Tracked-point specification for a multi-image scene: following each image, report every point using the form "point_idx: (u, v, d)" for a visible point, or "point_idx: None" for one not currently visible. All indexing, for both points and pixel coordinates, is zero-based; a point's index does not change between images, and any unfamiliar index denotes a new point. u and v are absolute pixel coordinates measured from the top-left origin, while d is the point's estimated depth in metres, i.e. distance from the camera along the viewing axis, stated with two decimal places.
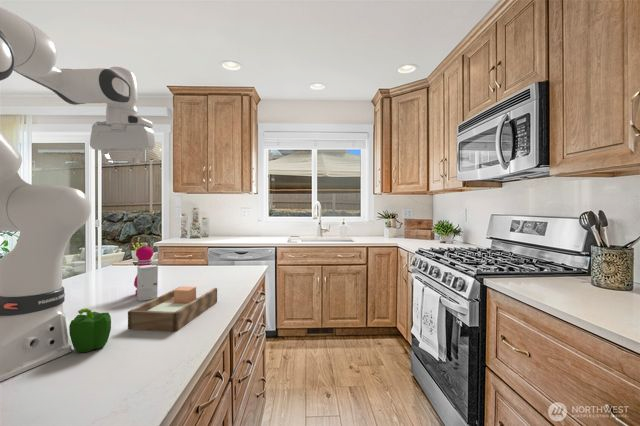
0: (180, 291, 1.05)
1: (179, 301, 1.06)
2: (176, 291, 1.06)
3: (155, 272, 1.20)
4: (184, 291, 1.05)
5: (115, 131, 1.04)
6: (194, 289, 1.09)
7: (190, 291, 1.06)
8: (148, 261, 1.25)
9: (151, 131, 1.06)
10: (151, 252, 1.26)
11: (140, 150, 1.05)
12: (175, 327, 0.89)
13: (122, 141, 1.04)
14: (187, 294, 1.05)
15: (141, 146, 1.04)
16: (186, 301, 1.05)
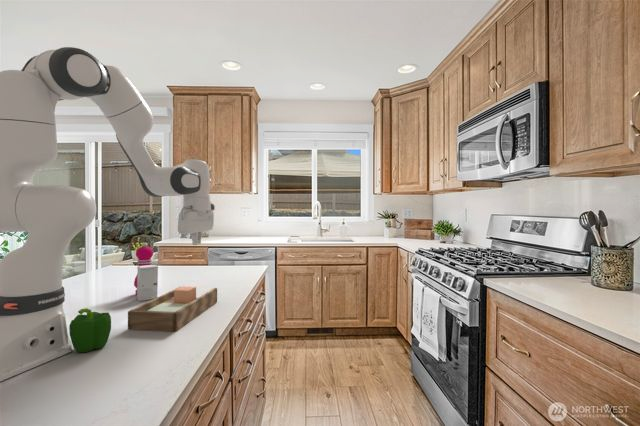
0: (180, 291, 1.05)
1: (179, 301, 1.06)
2: (176, 291, 1.06)
3: (155, 272, 1.20)
4: (184, 291, 1.05)
5: (199, 216, 1.14)
6: (194, 289, 1.09)
7: (190, 291, 1.06)
8: (148, 261, 1.25)
9: None
10: (151, 252, 1.26)
11: None
12: (175, 327, 0.89)
13: (203, 225, 1.17)
14: (187, 294, 1.05)
15: (210, 228, 1.23)
16: (186, 301, 1.05)
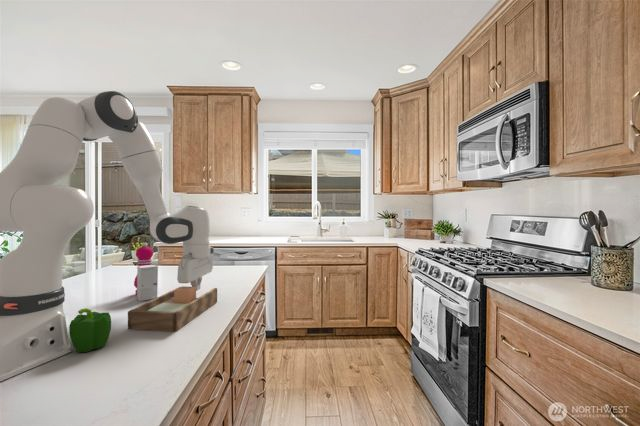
0: (180, 291, 1.05)
1: (179, 301, 1.06)
2: (176, 291, 1.06)
3: (155, 272, 1.20)
4: (184, 291, 1.05)
5: (199, 262, 1.15)
6: (194, 289, 1.09)
7: (190, 291, 1.06)
8: (148, 261, 1.25)
9: None
10: (151, 252, 1.26)
11: None
12: (175, 327, 0.89)
13: (202, 270, 1.17)
14: (187, 294, 1.05)
15: (210, 271, 1.24)
16: (186, 301, 1.05)
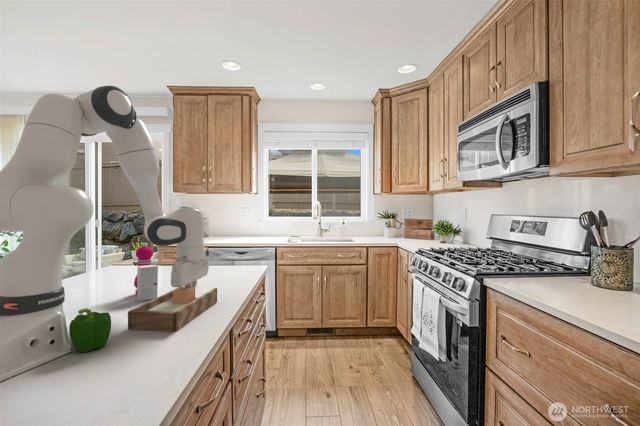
0: (179, 292, 1.05)
1: (178, 302, 1.05)
2: (175, 292, 1.05)
3: (155, 272, 1.20)
4: (183, 292, 1.05)
5: (193, 265, 1.10)
6: (193, 290, 1.08)
7: (189, 292, 1.05)
8: (148, 261, 1.25)
9: None
10: (151, 252, 1.26)
11: None
12: (175, 327, 0.89)
13: (197, 273, 1.13)
14: (186, 295, 1.04)
15: (205, 274, 1.19)
16: (185, 302, 1.05)
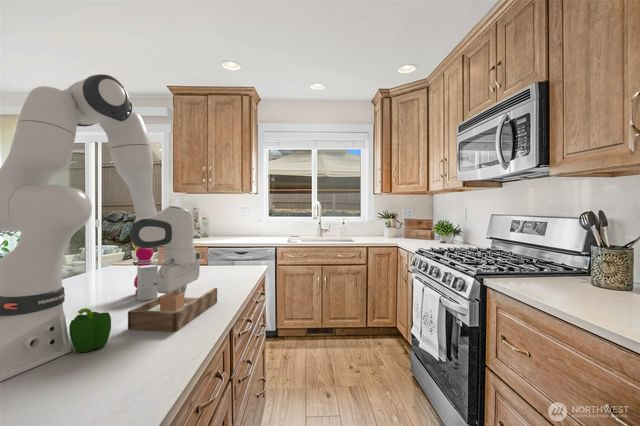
0: (166, 298, 0.97)
1: (165, 309, 0.97)
2: (162, 298, 0.97)
3: (155, 272, 1.20)
4: (171, 298, 0.97)
5: (182, 269, 1.03)
6: (182, 296, 1.01)
7: (177, 298, 0.98)
8: (148, 261, 1.25)
9: None
10: (151, 252, 1.26)
11: None
12: (175, 327, 0.89)
13: (187, 277, 1.05)
14: (174, 301, 0.97)
15: (196, 278, 1.12)
16: (173, 309, 0.97)
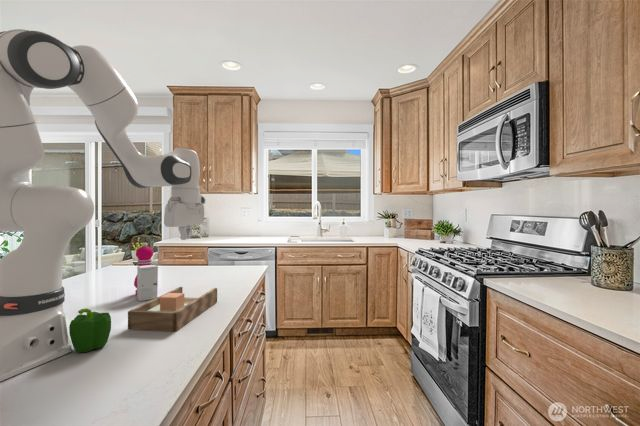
0: (166, 298, 0.97)
1: (165, 309, 0.97)
2: (162, 298, 0.97)
3: (155, 272, 1.20)
4: (171, 298, 0.97)
5: (188, 209, 1.07)
6: (182, 296, 1.01)
7: (177, 298, 0.98)
8: (148, 261, 1.25)
9: None
10: (151, 252, 1.26)
11: None
12: (175, 327, 0.89)
13: (192, 218, 1.10)
14: (174, 301, 0.97)
15: (201, 223, 1.16)
16: (173, 309, 0.97)
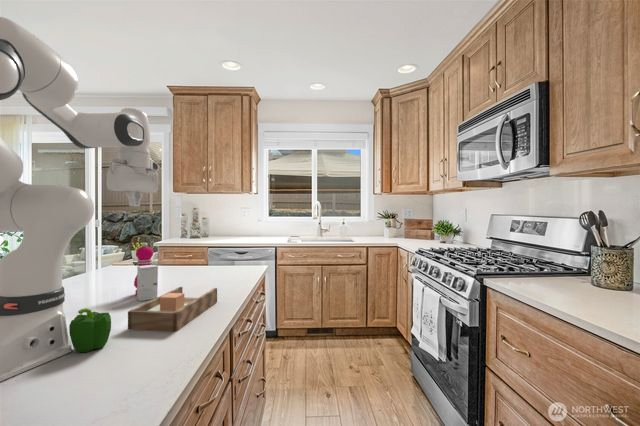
0: (166, 298, 0.97)
1: (165, 309, 0.97)
2: (162, 298, 0.97)
3: (155, 272, 1.20)
4: (171, 298, 0.97)
5: (137, 174, 1.02)
6: (182, 296, 1.01)
7: (177, 298, 0.98)
8: (148, 261, 1.25)
9: None
10: (151, 252, 1.26)
11: None
12: (175, 327, 0.89)
13: (142, 184, 1.04)
14: (174, 301, 0.97)
15: (154, 191, 1.11)
16: (173, 309, 0.97)
